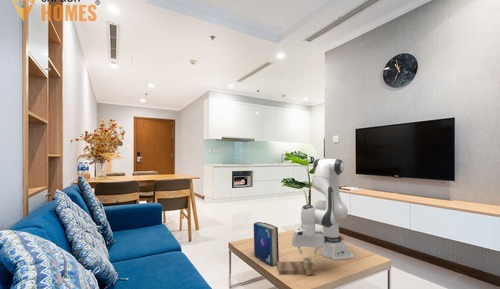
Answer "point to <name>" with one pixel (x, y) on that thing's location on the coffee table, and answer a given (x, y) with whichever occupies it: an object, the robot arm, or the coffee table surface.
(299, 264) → the board
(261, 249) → the book
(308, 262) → the block
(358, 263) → the coffee table surface
